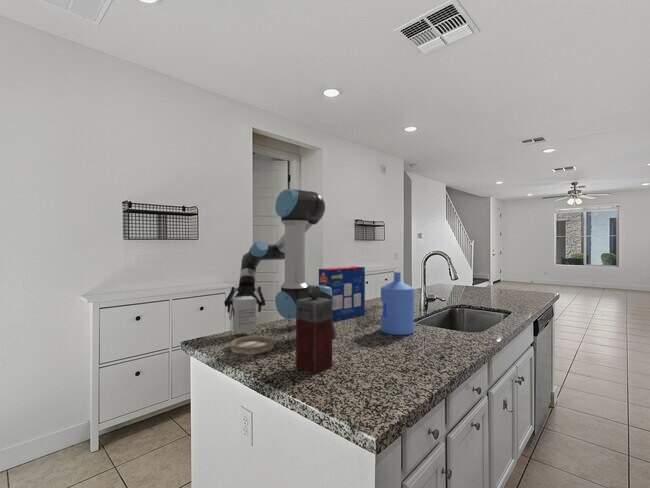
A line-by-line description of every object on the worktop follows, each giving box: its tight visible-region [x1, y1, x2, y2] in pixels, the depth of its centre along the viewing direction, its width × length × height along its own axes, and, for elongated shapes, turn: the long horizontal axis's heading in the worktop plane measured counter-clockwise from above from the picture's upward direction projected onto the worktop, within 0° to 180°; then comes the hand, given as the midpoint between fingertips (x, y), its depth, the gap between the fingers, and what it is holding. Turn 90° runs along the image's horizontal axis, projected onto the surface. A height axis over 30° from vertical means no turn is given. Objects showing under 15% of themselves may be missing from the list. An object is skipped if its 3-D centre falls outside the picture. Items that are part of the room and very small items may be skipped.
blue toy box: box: [318, 265, 366, 323], centre depth 194 cm, size 28×8×28 cm, turn 131°
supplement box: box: [232, 296, 257, 335], centre depth 158 cm, size 9×9×15 cm
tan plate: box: [229, 335, 275, 355], centre depth 141 cm, size 17×17×2 cm
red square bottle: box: [295, 286, 333, 375], centre depth 119 cm, size 9×11×28 cm
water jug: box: [380, 271, 415, 336], centre depth 166 cm, size 16×16×28 cm
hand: (243, 318), depth 156 cm, fingers closed on supplement box, 11 cm apart
